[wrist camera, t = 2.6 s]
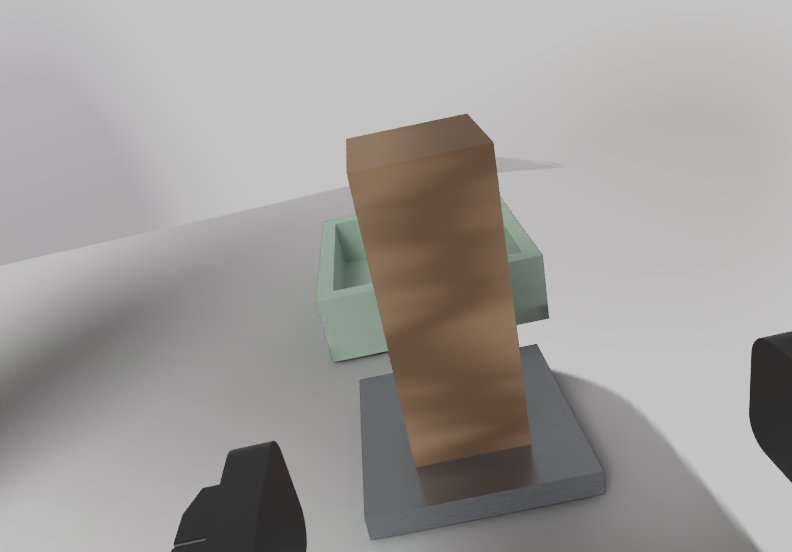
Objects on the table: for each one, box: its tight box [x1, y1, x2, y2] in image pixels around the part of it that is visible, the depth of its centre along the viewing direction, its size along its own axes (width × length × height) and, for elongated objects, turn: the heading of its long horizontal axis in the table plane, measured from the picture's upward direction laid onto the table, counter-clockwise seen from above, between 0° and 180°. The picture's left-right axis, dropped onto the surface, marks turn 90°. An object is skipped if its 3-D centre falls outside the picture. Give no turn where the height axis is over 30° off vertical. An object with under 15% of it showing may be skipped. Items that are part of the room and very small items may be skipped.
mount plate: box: [360, 344, 605, 540], centre depth 25 cm, size 8×8×1 cm
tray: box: [316, 197, 549, 362], centre depth 36 cm, size 11×11×4 cm
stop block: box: [346, 114, 531, 467], centre depth 22 cm, size 4×4×11 cm
